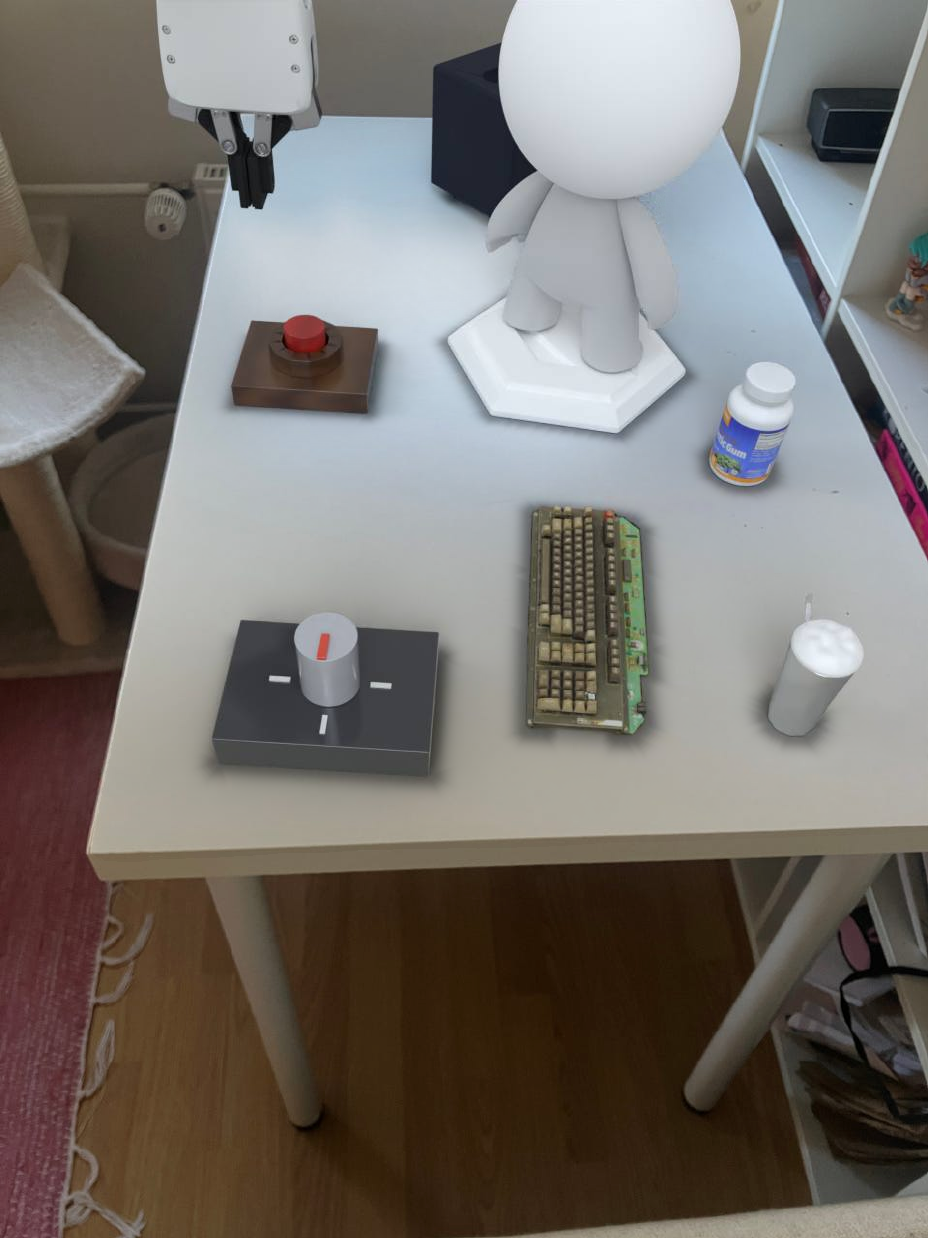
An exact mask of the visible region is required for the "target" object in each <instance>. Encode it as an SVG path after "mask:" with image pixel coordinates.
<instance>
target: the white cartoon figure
mask: <svg viewBox="0 0 928 1238" xmlns="http://www.w3.org/2000/svg"><path fill="white" fill-rule="evenodd" d="M501 40H502V41H501V42H502V44H501V50H500V58H499V91H500V98H501V103H502V108H503V112H504V115H505V119H506V122H507V124H508V127H509V129H510V132H511V134H512V136H513V138H514V140H515V142H516V143H517V145H518V147H519V148H520V150H521V151H522V153H523V154H524V156H525V157H526V158H527V159H528V161H529V162H530V163H531V164H532V165H533V166H534V167H535V168H536V169H537V170H538V171H536V172H535V173H533V174H531V175H530V176H528V177H527V178H525V179H524V180H522V181H521V182H520V183H519V184H518V185H516V186H515V187H514V188H513V189H512V190H511V191H510V192H509V193H508V194H507V195H506V196H505V197H504V198H503V199H502V200H501V202H500V203H499V204H498V205H497V207H496V208H495V210H494V212H493V213H492V215H491V217H489V220H488V223H487V226H486V231H485V237H484V239H485V240H484V241H485V247H486V250H487V252H488V253H493V252H495V251H496V250H498V249H501V247H503V246H505V245H506V244H508V243H509V242H510V241H511V240H512V237H513V236H516V237H517V239H516V240H517V241H518V243H524V244H523V246H522V248H521V251H520V254H519V256H518V259H517V262H516V266H515V269H514V270H513V271H514V272H513V273H512V274H513V275H512V277H511V281H510V284H509V287H508V291H507V295H506V296H505V297H504V298H502V299H500V300H499V301H498V302H496V303H495V304H493V305H491V306H489V308H487V309H486V310H484V311H483V312H481V313H479V314H478V315H477V316H475V317H473V318H472V319H471V320H469V321H468V322H465V324H463V325H461V326H460V327H459V328H457V329H456V330H455V331H454V332H453V333H451V334H450V335H449V336H448V337H447V344H448V347H449V348H450V349H451V351H452V353H453V354H454V356H455V358H456V360H457V361H458V363H459V364H460V366H461V368H462V369H463V371H464V373H465V375H466V377H467V378H468V380H469V381H470V383H471V385H472V386H473V388H474V389H475V391H476V393H477V394H478V396H479V398H480V399H481V401H482V403H483V405H484V407H485V408H486V410H487V412H488V413H489V415H490V416H492V417H499V418H506V419H512V420H519V421H527V422H533V423H534V422H535V423H541V424H547V425H555V426H560V427H561V426H562V427H568V428H575V429H583V430H589V431H597V432H602V433H611V434H619V433H620V432H621V431H622V430H623V429H625V428H626V427H627V426H628V425H629V424H631V423H632V422H633V421H634V420H635V419H636V418H637V417H639V416H640V415H641V414H642V413H644V411H646V410H647V409H648V408H649V407H650V406H651V405H652V404H654V403H655V402H656V401H657V400H658V399H659V398H661V396H663V395H664V394H665V393H666V392H667V391H669V390H670V389H671V388H672V387H674V386H675V385H676V384H677V383H678V382H679V381H680V380H682V379H683V377H685V375H686V372H687V369H686V368H685V366H684V365H683V364H682V362H681V360H680V359H679V358H678V357H677V356H676V355H675V353H674V352H673V351H672V350H671V348H670V347H669V346H668V344H666V342H665V341H664V339H662V337H661V336H660V335H659V333H658V332H657V331H656V330H659V329H660V328H663V327H664V326H665V325H667V324H668V323H669V322H670V321H671V320H672V318H673V317H674V316H675V314H676V311H677V310H678V305H679V282H678V275H677V273H676V269H675V266H674V263H673V260H672V256H671V253H670V252H669V249H668V246H667V245H666V242H665V240H664V237H663V234H662V233H661V231H660V229H659V226H658V225H657V223H656V221H655V220H654V218H653V216H652V215H651V213H650V211H649V210H648V208H647V207H646V206H645V204H644V203H643V202H642V201H641V200H640V199H639V198H637V197H639V196H643V195H645V194H648V193H651V192H654V191H656V190H658V189H660V188H662V187H664V186H666V185H668V184H669V183H671V182H672V181H674V180H676V179H678V178H679V177H680V176H682V175H683V174H684V173H685V172H686V171H688V170H689V169H690V168H691V167H693V165H694V164H695V163H696V162H698V161H699V159H701V157H702V156H703V155H704V154H705V153H706V152H707V150H708V149H709V148H710V146H711V145H712V144H713V142H714V140H716V138H717V136H718V135H719V134H720V131H721V130H722V128H723V126H724V124H725V122H726V120H727V118H728V115H729V114H730V112H731V108H732V106H733V103H734V100H735V96H736V92H737V89H738V84H739V79H740V70H741V39H740V30H739V25H738V20H737V15H736V13H735V10H734V6H733V4H732V0H516V1H515V3H514V6H513V8H512V10H511V12H510V15H509V17H508V20H507V23H506V26H505V28H504V33H503V36H502V39H501ZM640 307H641V309H642V312H644V314H645V316H646V318H645V317H644V316H643V314H642V313H641V312H640Z"/></svg>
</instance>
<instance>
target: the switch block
mask: <svg viewBox="0 0 928 1238" xmlns="http://www.w3.org/2000/svg"><path fill="white" fill-rule="evenodd" d="M321 320H322V321H323V323H324V325H325V337H326V344H325V346H324V347H323V348H322V349H321V350H319V351H315V352H312V353H296V352H293V351H291V350H289V349H288V348H287V346H286V342H285V333H284V325H285V323H286V321H283V322H282V321H266V320H254V319H252V320H250V324H249V326H248V330H247V333H246V336H245V339H244V343H243V346H242V350H241V353H240V356H239V359H238V362H237V365H236V369H235V372H234V375H233V379H232V382H231V385H230V387H231V388H230V389H231V394H232V400H233V405H234V406H242V407H243V406H244V407H257V408H258V407H259V408H271V409H272V408H275V409H288V410H289V409H290V410H306V411H318V412H319V411H321V412H334V413H335V412H336V413H350V414H351V413H353V414H368V413H369V406H370V401H371V400H370V399H371V394H372V389H373V388H372V387H373V382H374V376H375V371H376V364H377V358H378V352H379V329H378V328H375V327H373V328H372V327H361V326H347V325H345V326H343V325H334V324H333V323H331V322H328V321H325V320H323V319H321Z"/></svg>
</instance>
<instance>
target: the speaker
mask: <svg viewBox="0 0 928 1238" xmlns="http://www.w3.org/2000/svg"><path fill="white" fill-rule="evenodd" d="M501 44H502V41H501V42H498V43H495V44H492V45H490V46H487V47H484V48H481V49H478V50H475V51H472V52H469V53H466V54H462V55H460V56H458V57H454V58H452V59H451V58H450V59H448V60H445V61H442V62H440V63H437V64H435V65H433V68H432V105H431V106H432V107H431V108H432V109H431V113H432V115H431V165H430V169H431V170H430V183H431V184H433V185H434V186H435V187H438V188H439V189H440V190H443V191H444V192H445V193H448V194H449V195H451V196H452V197H453V198H455V199H458V200H460V201H462V202H463V203H465V204H467V205H468V206H470V207H472V208H473V209H476V210H477V211H479V212H481V213H482V214H484V215H486V216H487V217H489V218H491V215H492V213H493V212H494V210H495V208H496V207H497V205H498V204H499V203H500V202H501V200H502V199H503V198H504V197H505V196H506V195H507V194H508V193H509V192H510V191H511V190H512V189H513V188H514V187H515V186H516V185H518V184H519V183H520V182H521V181H522V180H524V179H525V178H527V177H528V176H530V175H531V174H533V173H535V172H536V171H538V170H537V169H536V168H535V167H534V166H533V165H532V164H531V163H530V162H529V161H528V159H527V158H526V157H525V156H524V154H523V153H522V151H521V150H520V148H519V147H518V145H517V143H516V142H515V140H514V138H513V136H512V134H511V132H510V129H509V127H508V124H507V122H506V119H505V115H504V112H503V108H502V103H501V98H500V91H499V58H500V50H501Z"/></svg>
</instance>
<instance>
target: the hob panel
mask: <svg viewBox="0 0 928 1238" xmlns="http://www.w3.org/2000/svg"><path fill="white" fill-rule="evenodd" d="M300 623H301V622H300ZM300 623H299V622H298V623H297V622H283V621H267V620H252V619H251V620H250V619H240V621H239V625H238V629H237V633H236V637H235V641H234V645H233V649H232V654H231V657H230V661H229V665H228V669H227V673H226V678H225V682H224V686H223V690H222V694H221V699H220V703H219V707H218V710H217V715H216V719H215V723H214V727H213V732H212V736H211V742H212V745H213V750H214V752H215V757H216V761H217V764H219V765H221V764H222V765H235V766H253V767H268V768H269V767H270V768H287V769H300V770H317V771H331V772H348V773H349V772H350V773H366V774H379V775H381V774H382V775H395V776H396V775H398V776H412V777H413V776H414V777H429V776H430V768H431V767H430V765H431V764H430V763H431V753H432V740H433V729H434V728H433V727H434V726H433V725H434V715H435V701H436V689H437V675H438V662H439V661H438V659H439V643H440V641H439V640H440V633H439V632H438V631H427V630H426V631H425V630H409V629H394V628H393V629H392V628H380V627H379V628H377V627H364V626H363V627H361V626H355V627H356V629H357V633H358V649H359V666H360V687H359V690H358V692H357V693H356V695H355V696H354V697H353V698H352V699H351V700H349V701H348V702H346V703H344V704H342V705H338V706H333V707H325V706H320V705H317V704H314V703H312V702H311V701H309V700H308V699H307V698H306V697H305V696H304V694H303V693H302V690H301V686H300V679H299V672H298V664H297V657H296V650H295V642H294V635H295V631H296V629H297V627H298V626H299V624H300Z"/></svg>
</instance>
